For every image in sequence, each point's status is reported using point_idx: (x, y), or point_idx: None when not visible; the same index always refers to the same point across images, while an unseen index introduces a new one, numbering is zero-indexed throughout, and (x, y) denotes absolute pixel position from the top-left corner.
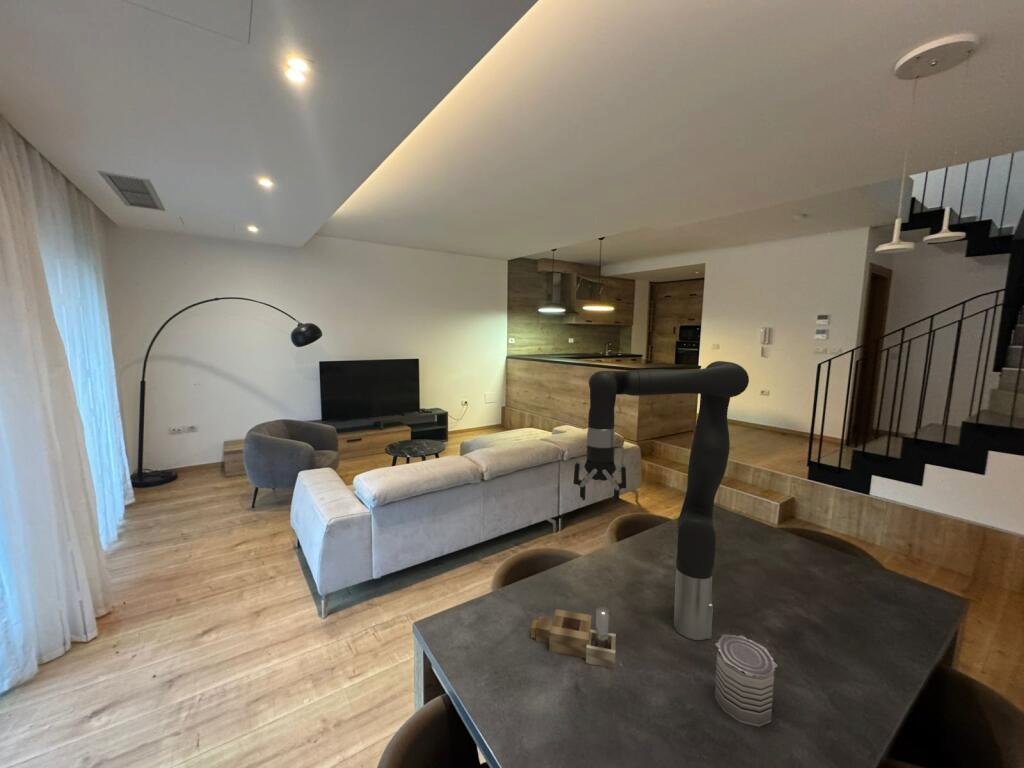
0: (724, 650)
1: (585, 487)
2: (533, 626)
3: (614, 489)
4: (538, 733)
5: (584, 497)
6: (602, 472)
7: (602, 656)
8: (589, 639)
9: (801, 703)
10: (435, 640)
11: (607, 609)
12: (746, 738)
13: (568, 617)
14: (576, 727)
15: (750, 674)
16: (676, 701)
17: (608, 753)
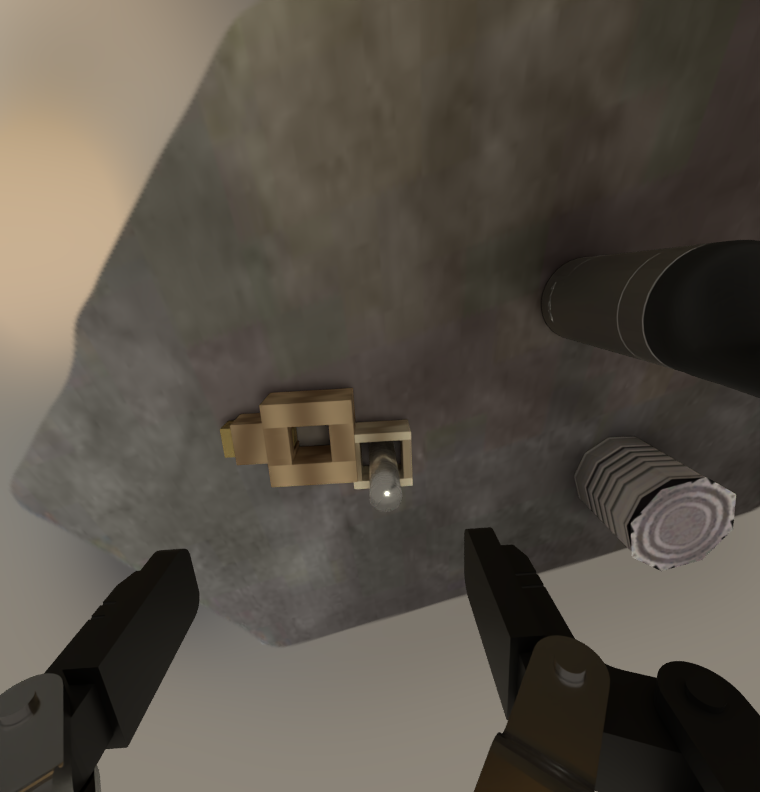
0: (643, 532)
1: (120, 658)
2: (228, 451)
3: (512, 698)
4: (313, 609)
5: (184, 629)
6: None
7: None
8: (357, 465)
9: (714, 444)
10: (56, 511)
11: (397, 489)
12: (595, 532)
13: (298, 426)
14: (361, 587)
15: (666, 567)
16: (508, 503)
17: (407, 605)
